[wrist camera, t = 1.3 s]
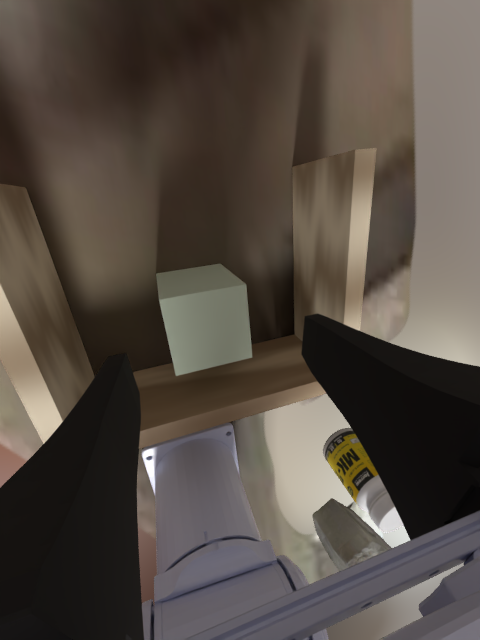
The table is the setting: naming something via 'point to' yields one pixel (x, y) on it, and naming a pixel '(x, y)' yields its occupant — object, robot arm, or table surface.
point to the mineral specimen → (346, 535)
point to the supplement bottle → (361, 479)
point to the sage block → (204, 317)
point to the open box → (161, 382)
